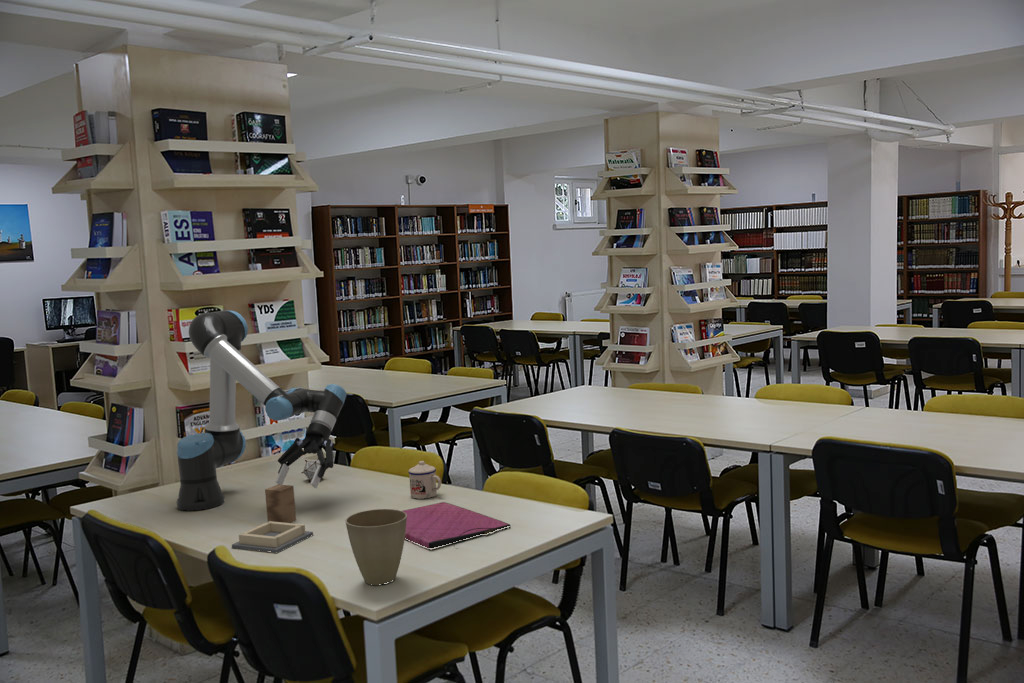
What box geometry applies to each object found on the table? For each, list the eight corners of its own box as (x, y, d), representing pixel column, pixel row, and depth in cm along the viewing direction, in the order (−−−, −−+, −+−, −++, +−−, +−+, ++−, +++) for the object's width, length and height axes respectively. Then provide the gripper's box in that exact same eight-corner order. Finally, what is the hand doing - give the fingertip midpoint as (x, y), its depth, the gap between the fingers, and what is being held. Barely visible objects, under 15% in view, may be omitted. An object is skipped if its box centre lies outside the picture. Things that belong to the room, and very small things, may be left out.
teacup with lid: (404, 497, 291) (402, 463, 289) (421, 491, 298) (419, 457, 297) (432, 501, 284) (430, 466, 283) (449, 494, 291) (447, 460, 290)
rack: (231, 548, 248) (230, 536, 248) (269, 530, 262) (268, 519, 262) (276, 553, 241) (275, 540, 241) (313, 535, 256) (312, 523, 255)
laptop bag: (366, 512, 264) (443, 495, 280) (367, 525, 265) (443, 507, 281) (436, 540, 232) (518, 520, 248) (437, 555, 233) (518, 534, 249)
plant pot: (376, 596, 206) (371, 530, 204) (337, 583, 216) (332, 520, 214) (423, 576, 217) (419, 514, 215) (384, 565, 227) (380, 505, 225)
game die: (319, 490, 321) (322, 472, 315) (297, 483, 321) (299, 465, 315) (327, 473, 328) (330, 455, 322) (305, 466, 328) (308, 448, 322)
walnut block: (267, 524, 269) (265, 489, 268) (280, 518, 274) (278, 484, 273) (283, 526, 266) (280, 490, 265) (296, 520, 272) (293, 485, 271)
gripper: (357, 434, 284) (334, 493, 272) (295, 432, 294) (270, 488, 282) (347, 422, 278) (322, 480, 266) (284, 420, 289) (257, 477, 277)
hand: (295, 485), depth 274 cm, fingers open, 13 cm apart
